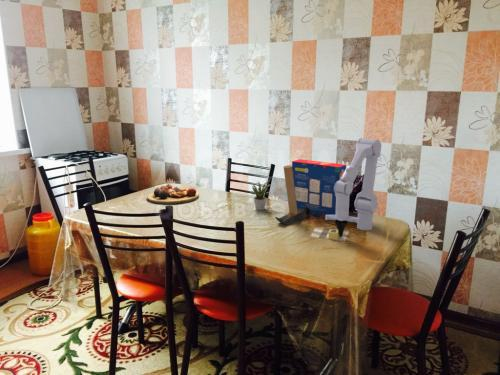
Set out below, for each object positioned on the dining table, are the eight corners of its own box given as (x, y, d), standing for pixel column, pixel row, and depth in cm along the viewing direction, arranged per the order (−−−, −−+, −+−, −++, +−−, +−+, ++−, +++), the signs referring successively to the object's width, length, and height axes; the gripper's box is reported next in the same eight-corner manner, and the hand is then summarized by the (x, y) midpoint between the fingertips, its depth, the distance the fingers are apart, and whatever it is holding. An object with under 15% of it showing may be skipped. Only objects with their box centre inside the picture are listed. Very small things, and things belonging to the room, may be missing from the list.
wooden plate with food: (209, 195, 274) (209, 183, 272) (175, 207, 247) (174, 193, 246) (171, 190, 290) (171, 178, 289) (136, 201, 264) (135, 187, 262)
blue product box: (343, 216, 230) (346, 164, 224) (337, 219, 224) (339, 167, 217) (298, 207, 247) (299, 159, 240) (291, 210, 241) (292, 161, 234)
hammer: (283, 229, 216) (275, 173, 205) (276, 227, 220) (268, 172, 209) (310, 215, 227) (304, 161, 217) (303, 213, 231) (297, 159, 220)
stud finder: (330, 235, 199) (330, 228, 199) (339, 236, 198) (339, 229, 197) (328, 238, 195) (328, 231, 194) (337, 239, 194) (337, 232, 193)
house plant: (275, 205, 251) (275, 177, 247) (274, 212, 237) (274, 183, 233) (251, 204, 252) (250, 177, 248) (248, 211, 239) (248, 183, 235)
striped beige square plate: (315, 228, 210) (315, 227, 210) (349, 232, 205) (349, 230, 205) (309, 238, 197) (309, 236, 197) (345, 242, 192) (345, 241, 192)
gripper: (324, 208, 191) (323, 237, 194) (358, 211, 186) (356, 240, 189) (327, 204, 197) (326, 232, 200) (359, 206, 192) (358, 235, 196)
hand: (340, 236), depth 195 cm, fingers closed
